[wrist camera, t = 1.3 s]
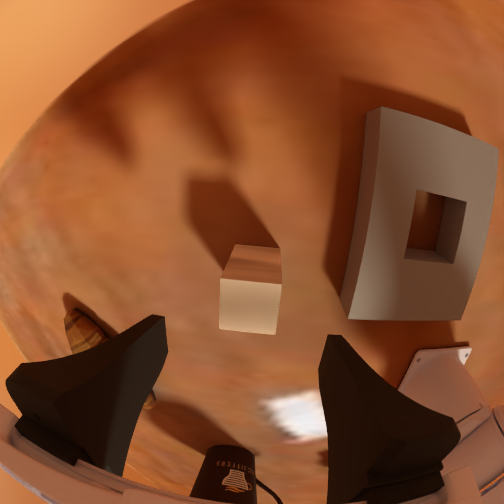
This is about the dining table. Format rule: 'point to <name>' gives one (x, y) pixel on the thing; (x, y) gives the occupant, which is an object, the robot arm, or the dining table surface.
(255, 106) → the dining table surface
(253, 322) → the peg
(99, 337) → the croissant
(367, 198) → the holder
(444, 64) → the dining table surface
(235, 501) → the coffee mug
